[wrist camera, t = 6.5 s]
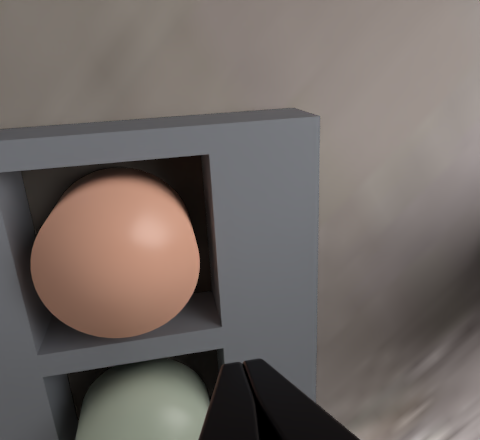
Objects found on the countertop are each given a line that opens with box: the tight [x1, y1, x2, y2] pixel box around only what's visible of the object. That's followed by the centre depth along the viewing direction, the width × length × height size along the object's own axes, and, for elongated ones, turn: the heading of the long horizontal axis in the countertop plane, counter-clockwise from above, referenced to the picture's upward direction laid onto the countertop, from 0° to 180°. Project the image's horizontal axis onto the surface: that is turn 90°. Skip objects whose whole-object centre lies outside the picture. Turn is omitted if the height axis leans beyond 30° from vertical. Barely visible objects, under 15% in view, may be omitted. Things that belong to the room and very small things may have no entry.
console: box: [0, 108, 320, 440], centre depth 20 cm, size 15×25×3 cm, turn 3°
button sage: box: [75, 358, 210, 440], centre depth 18 cm, size 6×6×3 cm
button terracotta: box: [31, 167, 200, 338], centre depth 17 cm, size 6×6×3 cm
